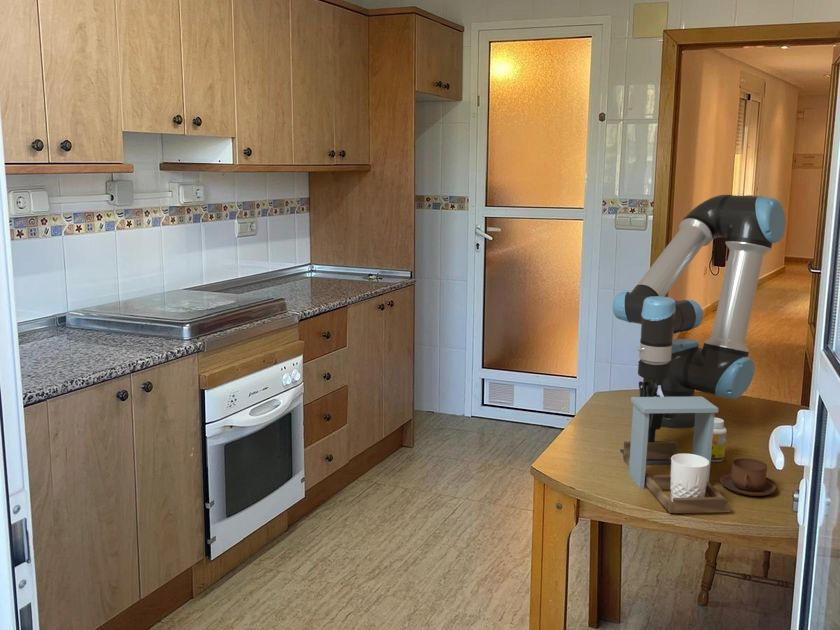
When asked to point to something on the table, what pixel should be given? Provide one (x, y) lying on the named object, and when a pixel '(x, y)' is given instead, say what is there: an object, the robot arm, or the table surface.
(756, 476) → the cup and saucer
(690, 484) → the white cup
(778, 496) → the table surface
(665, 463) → the pit mat
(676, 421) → the robot arm
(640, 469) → the tunnel
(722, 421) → the supplement bottle
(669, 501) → the wooden serving tray
